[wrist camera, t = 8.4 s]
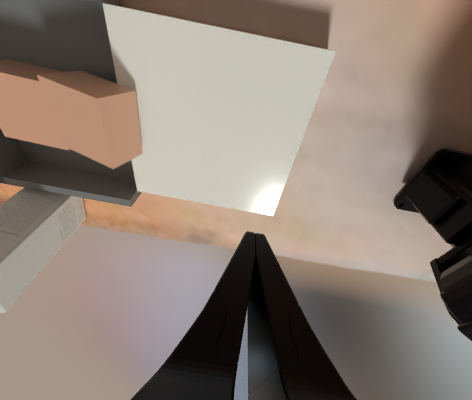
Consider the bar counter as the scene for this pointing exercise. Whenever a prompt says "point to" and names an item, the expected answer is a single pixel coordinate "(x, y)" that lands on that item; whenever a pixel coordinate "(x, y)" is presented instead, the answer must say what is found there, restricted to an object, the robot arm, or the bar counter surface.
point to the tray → (66, 60)
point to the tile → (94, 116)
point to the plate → (215, 106)
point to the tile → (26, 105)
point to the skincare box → (33, 236)
